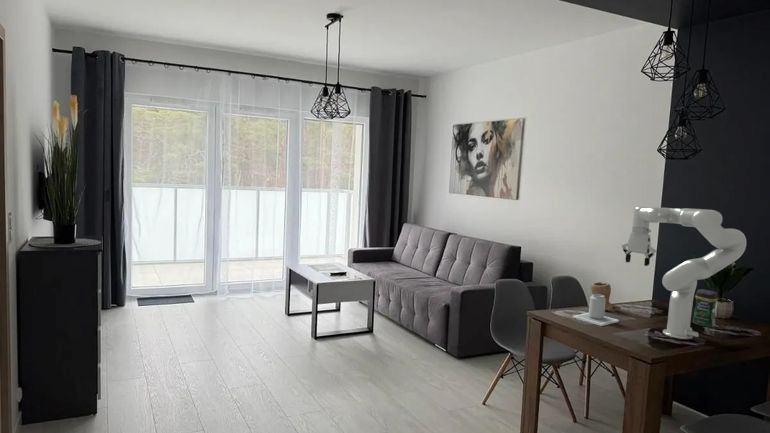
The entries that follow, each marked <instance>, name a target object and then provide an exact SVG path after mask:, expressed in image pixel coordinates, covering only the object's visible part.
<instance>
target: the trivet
mask: <svg viewBox="0 0 770 433" xmlns="http://www.w3.org/2000/svg"><path fill="white" fill-rule="evenodd" d="M572 318H573V319H575V318H576V320H579V321H583V322H585V323H590V324H594V325H597V326H600V327H604V326H607V325H611V324H615V323H619V322H620V321H619V319H617V318H613V317H609V316H606V315H604V318H602V319H593V318H591V317H590V316H589V312H585V313H581V314H575V315H572Z"/></svg>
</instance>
